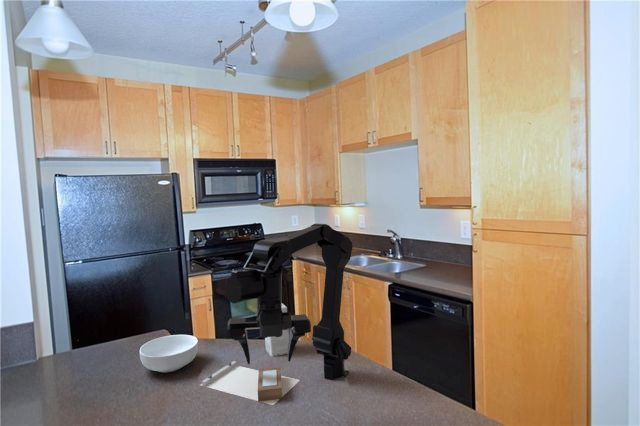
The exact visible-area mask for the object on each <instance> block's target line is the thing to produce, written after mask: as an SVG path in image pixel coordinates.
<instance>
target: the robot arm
mask: <svg viewBox="0 0 640 426" xmlns="http://www.w3.org/2000/svg"><path fill="white" fill-rule="evenodd" d="M314 244H315V245H316V246H317V247H319V248H320V250H321V258H322V260H323V263H324V265H325V273H324V274H325V275H324V285H323V288H324V289H323V297H322V298H323V299H322V308H321V310H322V311H321V318H320V320H319V322H318V323H317V324H314V325H313V327H312V323H311V320H310V319H309V317H308V316H307V315H306V314H305V313H304V314H292V312H291V311H287V312H282V304H283V303H282V302H283V301H282V299H283V298H282V297H283V296H282V292H283V291H282V289H283V286H282V285H283V282H282V277H283V275H288V274H289V270H288V269H287V268H286V267H285V266H284V264H285V263H287V262H289V260H291V258H292V255H294V254H295V253H297V252H299V251H301V250H303V249H305V248H308V247H309V246H311V245H314ZM352 252H353V241H351V239H350V237H348V236H347V235H345V234H344V233H341V232H340V231H337V230H336V229H334V228H333V227H331V226H330V225H329V224H327V223H314V224H311V225H310V226H307V227H305V228H303V229H300V230H298V231H296V232H293V233H291V234H288V235H286V236H284V237H278V238H267V239H261V240H258V241H257V242H255V243H254V245H253V249H252V251H251V253H250V255H249V257H248V259H247V260H246V261H245V262H246V263H244V266H243V267H242V270H239V269H236V270H234V269H233V270H232V271H231V273H230V274H231V275H230V276H229V278H228V279H226V284H225V286H224V291H225V295H226V298H227V300H228V301H229V302H230V303H231V304H238V303H243V302H247V301H252V300H256V321H246V317H232V318H229V319H228V320H227V329H226V330H227V331H226V333H227V338H229V339H230V338H233V339H232V340H233V341H238V342H239V344H240V345H241V348H242V350H243V354H244V356H245V359H246V362H247V363H246V364H247V365H251V358H250V357H251V355H250V348H249V347H250V346H249V339H248V338H249V337H248V331H249V332H250V331H251V332H252V331H259V336H260V338H262V339H265V338H267V337H280V336H282V332H283V330H289V343H288V354H287V361H288V362H291V359H292V357H293V354H294V350H295V347H296V345H297V343H298V342H299V340H300V338H301V337H305V336H306V334H310V333H311V332H312V336H311V341H312V346H313V348H315V351H316V353H317V354H318V355H322V356H323V377H324V380H329V381H334V380H336V379H340V378H343V379H346V377H347V376H348V375H349V374H350V371H349V370H346V369H345V361H346V360H349V357H350V356H351V353H352V346H350V345H349V344H348V343H347V341H345V330H344V327H343V325H342V323H341V321H340V317H341V305H342V294H343V293H342V291H343V282H344V281H343V280H344V271H345V268H346V266H347V265H348V263H349V261H350V260H351V258H352Z"/></svg>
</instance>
